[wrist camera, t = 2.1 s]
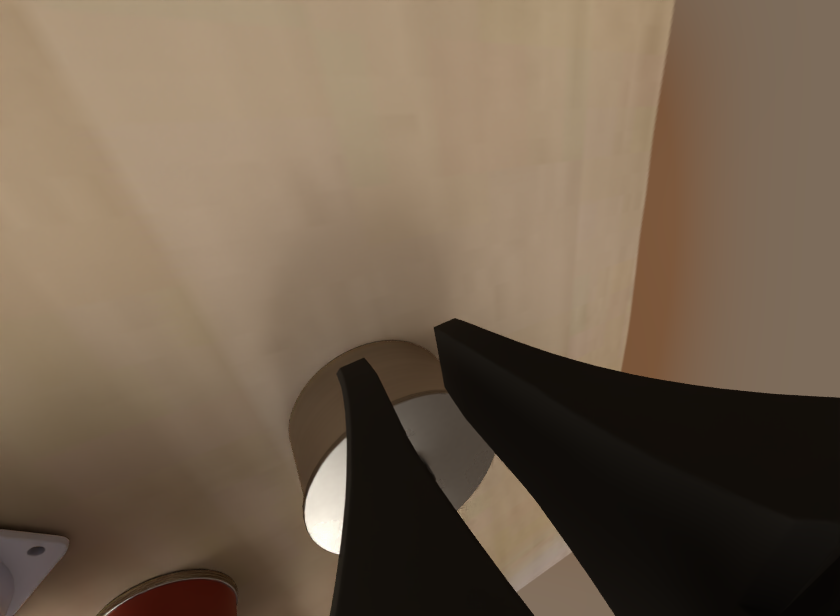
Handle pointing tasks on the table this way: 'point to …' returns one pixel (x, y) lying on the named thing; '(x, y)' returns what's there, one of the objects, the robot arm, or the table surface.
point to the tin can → (178, 596)
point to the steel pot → (419, 415)
